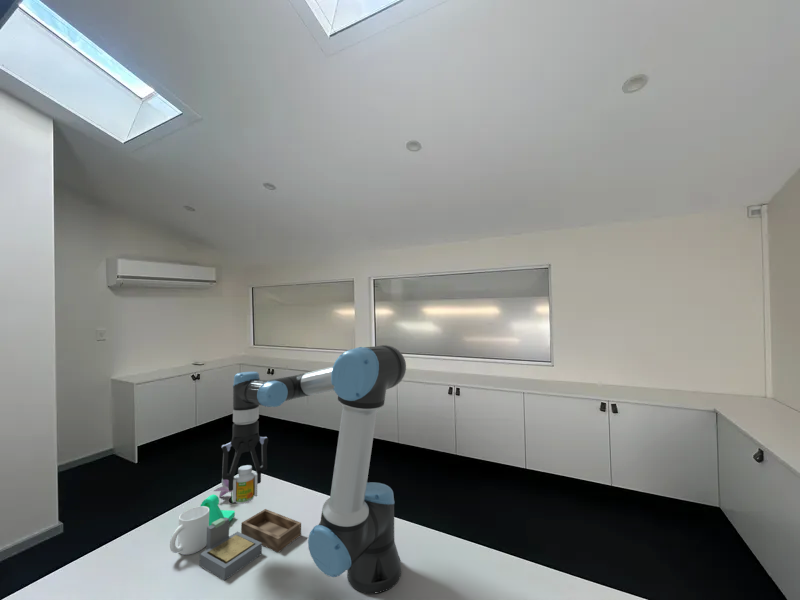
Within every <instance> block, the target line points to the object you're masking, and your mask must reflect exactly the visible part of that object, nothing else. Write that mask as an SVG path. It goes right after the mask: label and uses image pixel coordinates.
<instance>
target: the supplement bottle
mask: <svg viewBox="0 0 800 600" xmlns="http://www.w3.org/2000/svg"><path fill="white" fill-rule="evenodd" d="M237 468H238V469H237V475H236V476H235V478H236V502H235V503H236V504H239V505H243V504H247V503H250V502H251V501H253V500H254V498H255V496H254V472H252V471H253V466H252V465H251V464H246V465H241V466H240V467H237Z"/></svg>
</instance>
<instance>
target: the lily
mask: <svg viewBox="0 0 800 600" xmlns="http://www.w3.org/2000/svg"><path fill="white" fill-rule="evenodd" d="M213 492H219V494H218V495H219V496H218V498H221V497H223V496H225V495H226V494H228V493H230V495H231V496H230V497H231V498H230V500H231V504H233V501H232V491H229V488H228V480H223V478H222V477H221V486H219V487H217V488H216V489H214V490H213Z"/></svg>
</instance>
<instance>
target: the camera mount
mask: <svg viewBox="0 0 800 600" xmlns="http://www.w3.org/2000/svg"><path fill="white" fill-rule="evenodd" d="M219 503H220V497H219V496H218V495H216V494H210V495H209V496H207V497H206V498H205V499H204V500H202V502H201V504H200V505H199V506H206V507H208V508H209V526H210V525H212V523H213V522H214V521H216V520H218V519H220V518H222V519H223V518H225V517H226V518H228V519H229V522H230V521H232V520H233V518H234V517H235V515H236V514H235V513H236V511H235V510H228V509H226V510H224V509H221V508H220V506H219Z"/></svg>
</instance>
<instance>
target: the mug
mask: <svg viewBox="0 0 800 600" xmlns="http://www.w3.org/2000/svg"><path fill="white" fill-rule="evenodd" d="M208 526H209V508H208V507H206V506H200V505H199V506H194V507H191V508H188V509H187V510H185V511H183V512H182V513H180V515H179V516H178V527H177V528H176V529H175V530H174V531H173V533H172V535H171V538H170V541H169V548H170V552H172V553H173V554H174V553H175V554H177V553H179V554H180V555H184V556H188V555H192V554H193V555H194V554H196V553H197V552H200V551H201V550H202V551H203V549H204V548H206V539H207V527H208ZM176 540H178V541H177V546H176Z"/></svg>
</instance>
